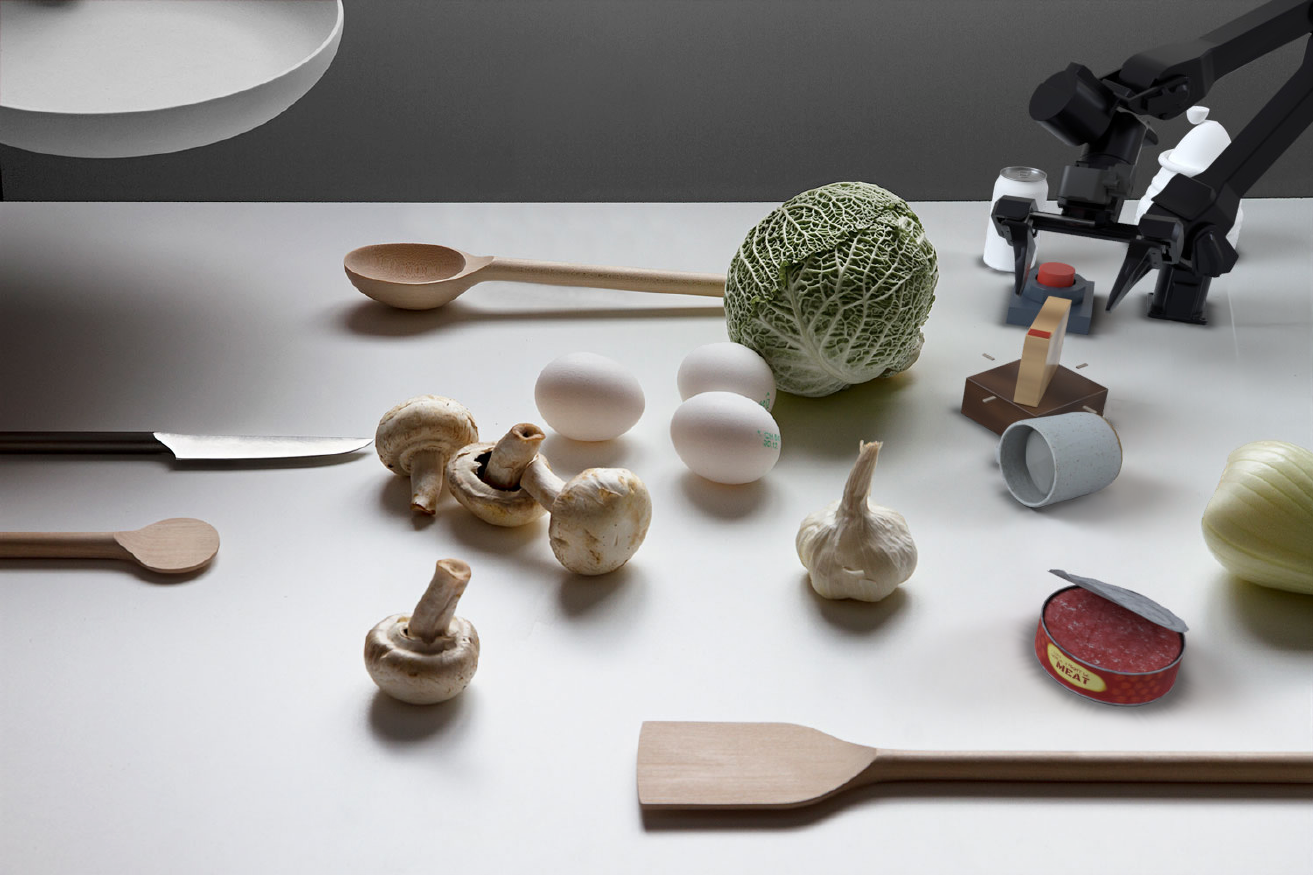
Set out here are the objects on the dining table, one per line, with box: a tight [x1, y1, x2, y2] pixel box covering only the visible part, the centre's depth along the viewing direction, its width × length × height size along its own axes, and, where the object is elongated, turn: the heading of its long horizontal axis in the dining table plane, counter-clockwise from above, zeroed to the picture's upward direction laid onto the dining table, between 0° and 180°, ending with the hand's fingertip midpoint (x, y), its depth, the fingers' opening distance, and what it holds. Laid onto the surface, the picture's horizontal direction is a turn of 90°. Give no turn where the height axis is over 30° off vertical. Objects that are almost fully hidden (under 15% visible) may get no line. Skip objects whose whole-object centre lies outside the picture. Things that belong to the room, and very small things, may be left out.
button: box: [1037, 261, 1077, 288], centre depth 132 cm, size 4×4×2 cm
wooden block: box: [960, 352, 1109, 437], centre depth 111 cm, size 14×14×4 cm
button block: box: [1005, 268, 1096, 336], centre depth 133 cm, size 11×9×4 cm
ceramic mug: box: [994, 412, 1124, 508], centre depth 100 cm, size 11×8×8 cm
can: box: [983, 166, 1049, 274], centre depth 143 cm, size 6×6×12 cm
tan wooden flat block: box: [1014, 296, 1072, 407], centre depth 108 cm, size 10×2×7 cm, turn 152°
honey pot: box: [1133, 105, 1244, 250], centre depth 146 cm, size 13×13×18 cm
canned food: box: [1033, 568, 1190, 707], centre depth 81 cm, size 11×10×10 cm
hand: (1061, 303), depth 117 cm, fingers open, 9 cm apart
